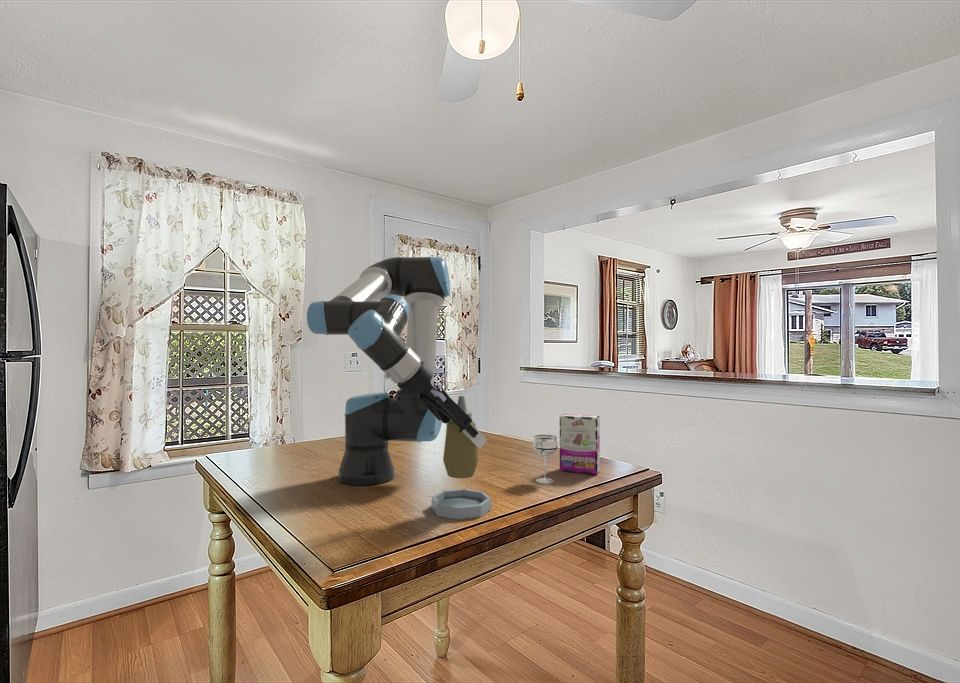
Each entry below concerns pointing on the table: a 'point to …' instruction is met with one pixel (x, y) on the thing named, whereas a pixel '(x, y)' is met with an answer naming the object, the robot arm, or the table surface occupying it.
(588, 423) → the candy bar box
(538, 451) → the wineglass
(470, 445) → the squeeze bottle
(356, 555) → the table surface
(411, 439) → the robot arm
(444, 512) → the octagonal tray
